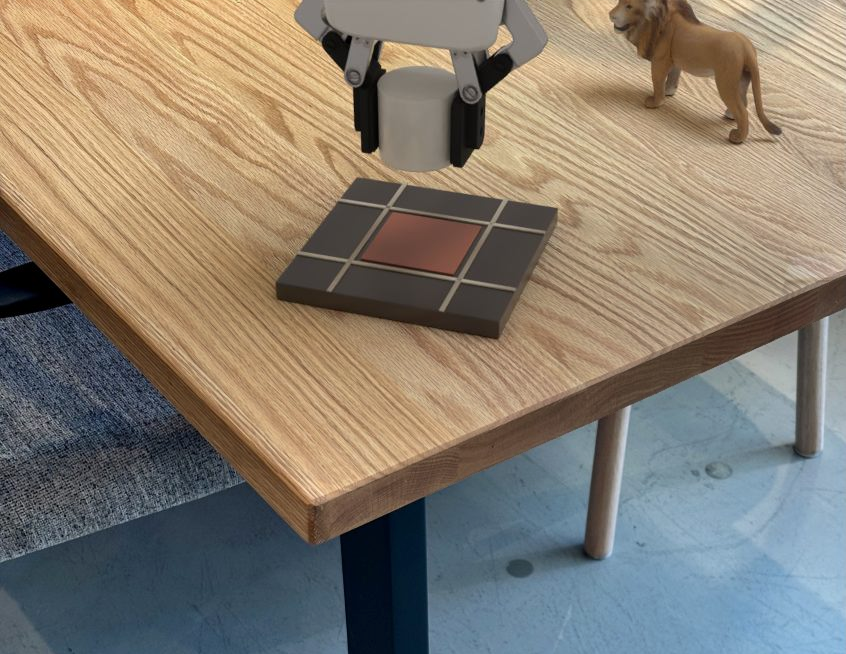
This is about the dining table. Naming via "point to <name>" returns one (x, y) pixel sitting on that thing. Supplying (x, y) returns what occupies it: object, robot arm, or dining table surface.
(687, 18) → the lion figurine
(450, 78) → the white plastic cylinder
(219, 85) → the dining table surface
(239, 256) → the dining table surface
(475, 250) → the board
